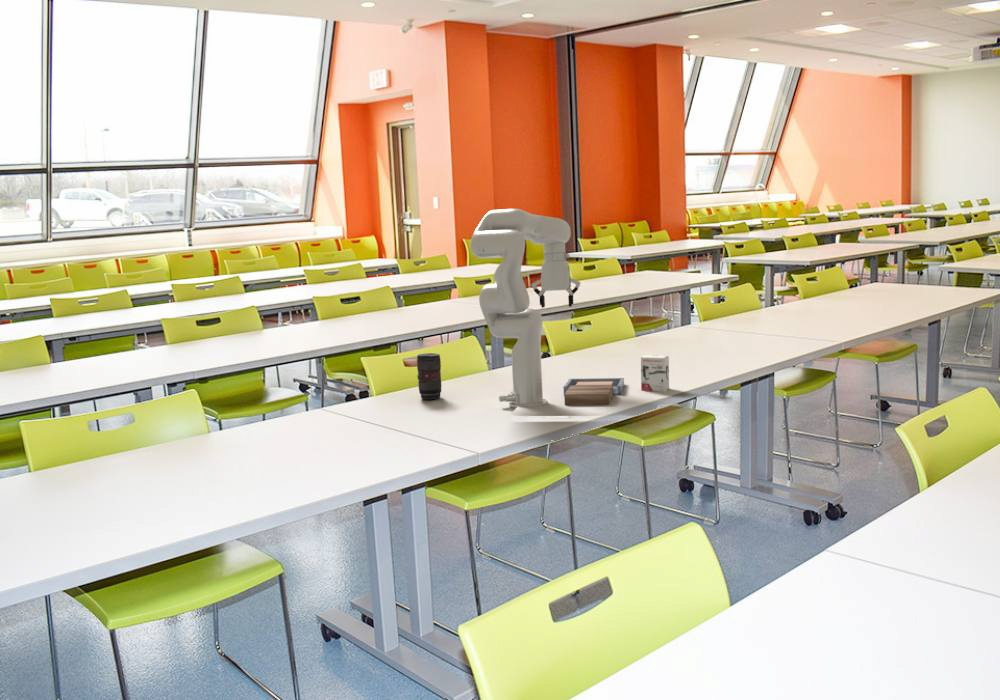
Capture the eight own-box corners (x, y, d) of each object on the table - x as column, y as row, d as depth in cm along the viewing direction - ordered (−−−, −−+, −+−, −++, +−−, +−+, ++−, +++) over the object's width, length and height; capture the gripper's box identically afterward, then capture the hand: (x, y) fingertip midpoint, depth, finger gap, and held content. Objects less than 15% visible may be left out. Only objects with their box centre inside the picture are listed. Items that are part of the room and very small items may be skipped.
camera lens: (439, 399, 305) (436, 355, 303) (416, 399, 307) (413, 356, 305) (445, 395, 313) (442, 352, 311) (423, 395, 314) (420, 353, 312)
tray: (620, 394, 297) (620, 386, 296) (563, 395, 301) (563, 386, 300) (624, 386, 312) (623, 377, 312) (569, 387, 316) (569, 378, 316)
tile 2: (612, 381, 305) (613, 388, 305) (577, 381, 308) (578, 389, 308) (611, 383, 301) (612, 390, 302) (576, 383, 304) (576, 391, 304)
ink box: (640, 391, 302) (639, 356, 300) (645, 388, 306) (644, 354, 304) (665, 392, 297) (664, 357, 296) (669, 389, 302) (669, 355, 300)
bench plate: (609, 404, 282) (608, 393, 281) (564, 405, 285) (564, 394, 284) (613, 395, 297) (612, 384, 297) (571, 395, 300) (570, 385, 300)
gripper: (580, 256, 315) (582, 305, 317) (532, 258, 318) (534, 306, 321) (578, 257, 307) (580, 307, 310) (528, 259, 311) (530, 308, 313)
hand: (556, 306), depth 315 cm, fingers open, 9 cm apart
